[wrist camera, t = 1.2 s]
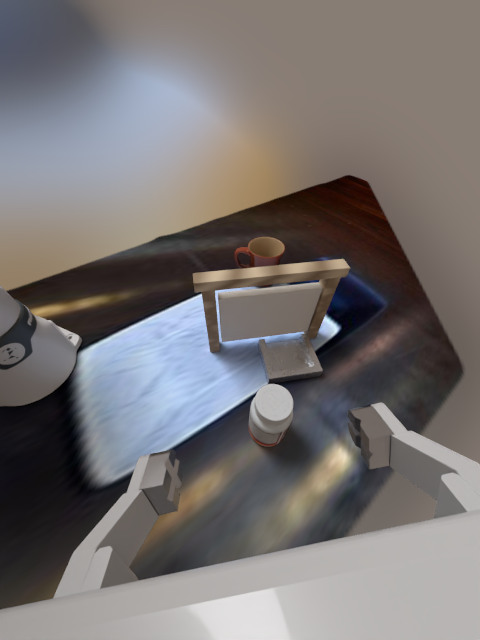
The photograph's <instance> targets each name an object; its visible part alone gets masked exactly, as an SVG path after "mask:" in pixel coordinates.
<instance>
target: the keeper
mask: <svg viewBox="0 0 480 640" xmlns="http://www.w3.org/2000/svg"><path fill="white" fill-rule="evenodd" d="M258 347H259V351H260V355H261V359H262V362H263V366H264V370H265V374H266V378H267V382H268V384H271V383H277V382H284V381H290V380H297V379H304V378H310V377H317V376H320V375H321V374H322V372H323V370H322V367H321V365H320V363H319V360H318V358H317V356H316V354H315V351H314V349H313V347H312V344H311V342H310V340H309V337H308V335H307V333H306V334H301V337H300V339H296V340H288V341H280V342H273V343H265V339H261V340H259V341H258Z"/></svg>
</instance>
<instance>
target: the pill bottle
mask: <svg viewBox="0 0 480 640" xmlns="http://www.w3.org/2000/svg"><path fill="white" fill-rule="evenodd" d="M292 418H293V399H292V396H291V394H290V393H289V391H288V390H287V389H285V388H284V387H282V386H280V385H277V384H268V385H265V386H263V387H262V388H261V389H259V391H258V392H257V394H256V396H255V398H254V399H253V401H252V403H251V407H250V416H249V432H250V434H251V436H252V438H253V439H254V440H255V441H256V442H257V443H258V444H260V445H262V446H267V447H270V446H274V445H276V444H278V443H279V442H280V441H281V440H282V439H283V437H284V435H285V433H286V431H287V429H288V427H289V425H290V424H291V421H292Z"/></svg>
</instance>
